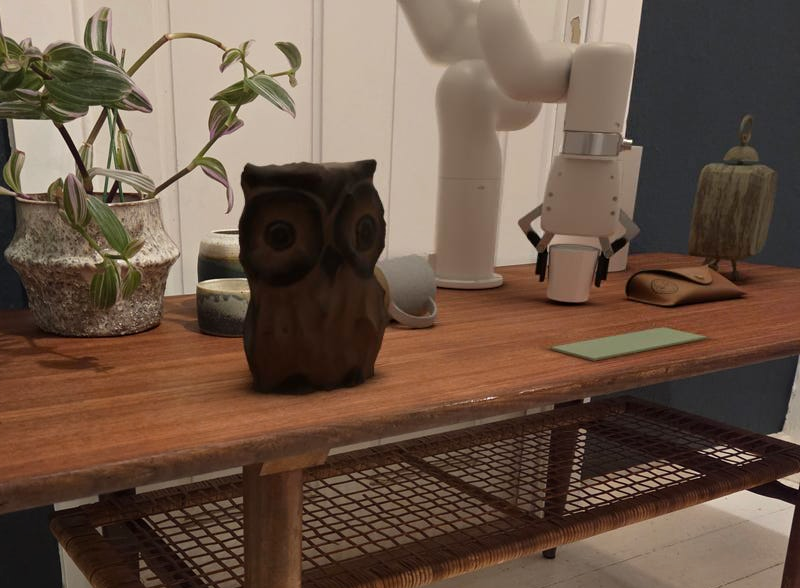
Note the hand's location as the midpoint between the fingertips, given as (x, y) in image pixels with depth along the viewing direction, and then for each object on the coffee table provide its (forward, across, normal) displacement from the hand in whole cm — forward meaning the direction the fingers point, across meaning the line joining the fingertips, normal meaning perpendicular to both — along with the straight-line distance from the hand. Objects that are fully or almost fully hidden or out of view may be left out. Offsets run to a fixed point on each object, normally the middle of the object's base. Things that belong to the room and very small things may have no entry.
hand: (569, 282), depth 123 cm
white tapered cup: (+2, 0, 0) cm, 2 cm away
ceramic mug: (+3, +20, +20) cm, 28 cm away
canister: (+4, -3, -37) cm, 38 cm away
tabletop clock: (+3, -24, -30) cm, 39 cm away
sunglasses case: (+3, -17, -9) cm, 20 cm away
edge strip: (+2, -7, +24) cm, 25 cm away
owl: (+3, +24, +49) cm, 54 cm away
